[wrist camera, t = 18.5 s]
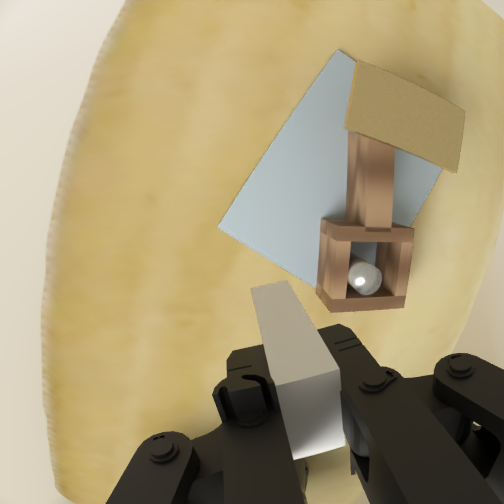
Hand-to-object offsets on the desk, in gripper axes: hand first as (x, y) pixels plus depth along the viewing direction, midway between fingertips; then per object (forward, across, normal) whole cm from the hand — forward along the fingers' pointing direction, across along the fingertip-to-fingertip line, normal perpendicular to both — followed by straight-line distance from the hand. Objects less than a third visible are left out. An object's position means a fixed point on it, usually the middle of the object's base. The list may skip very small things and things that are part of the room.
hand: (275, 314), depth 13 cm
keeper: (+24, +18, +9) cm, 31 cm away
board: (+24, +13, +3) cm, 28 cm away
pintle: (+24, +11, -6) cm, 27 cm away
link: (+24, +13, 0) cm, 27 cm away
